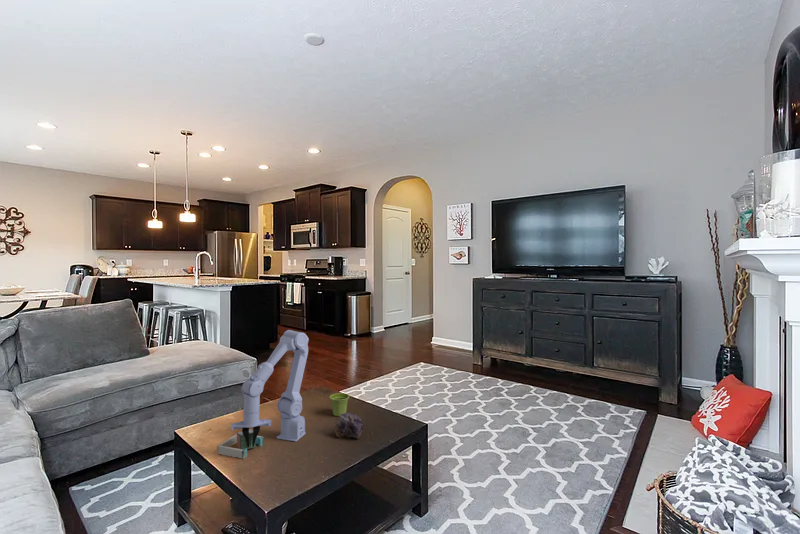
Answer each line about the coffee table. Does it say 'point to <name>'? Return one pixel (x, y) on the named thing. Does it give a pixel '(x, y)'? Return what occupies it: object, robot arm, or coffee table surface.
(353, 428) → the rock
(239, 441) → the puzzle toy
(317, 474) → the coffee table surface
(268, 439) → the coffee table surface
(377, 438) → the coffee table surface
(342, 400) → the plant pot
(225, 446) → the white frame
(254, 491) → the coffee table surface
